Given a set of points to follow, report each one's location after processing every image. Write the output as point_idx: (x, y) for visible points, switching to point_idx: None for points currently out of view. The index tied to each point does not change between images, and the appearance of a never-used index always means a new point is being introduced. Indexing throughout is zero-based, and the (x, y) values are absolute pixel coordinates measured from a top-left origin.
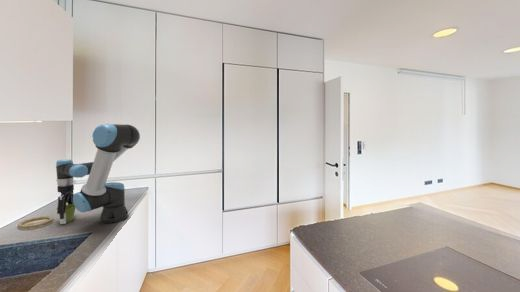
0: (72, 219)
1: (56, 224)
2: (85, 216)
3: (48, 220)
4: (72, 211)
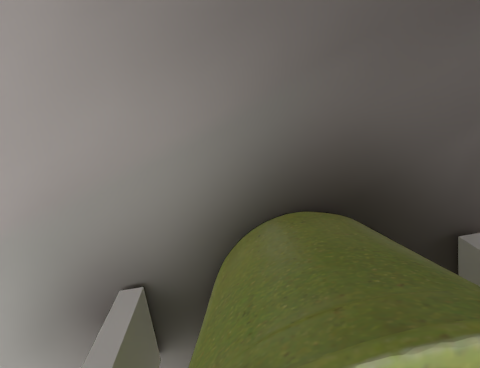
0: (324, 213)
1: None
2: (127, 62)
3: None
4: (471, 287)
